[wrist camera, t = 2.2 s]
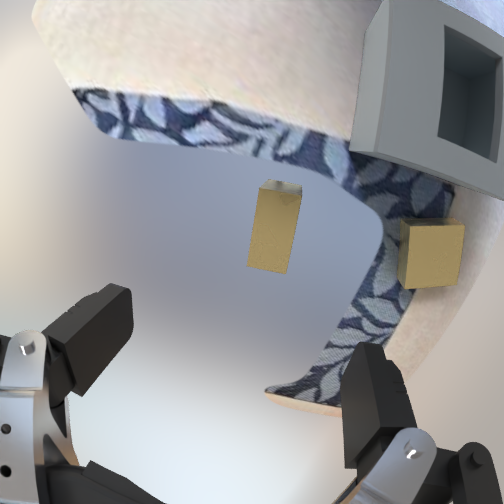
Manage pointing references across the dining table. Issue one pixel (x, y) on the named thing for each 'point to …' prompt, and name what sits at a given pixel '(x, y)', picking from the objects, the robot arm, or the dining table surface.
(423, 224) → the block
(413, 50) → the grey hollow block
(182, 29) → the dining table surface
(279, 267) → the gold flat square block
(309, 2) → the dining table surface
